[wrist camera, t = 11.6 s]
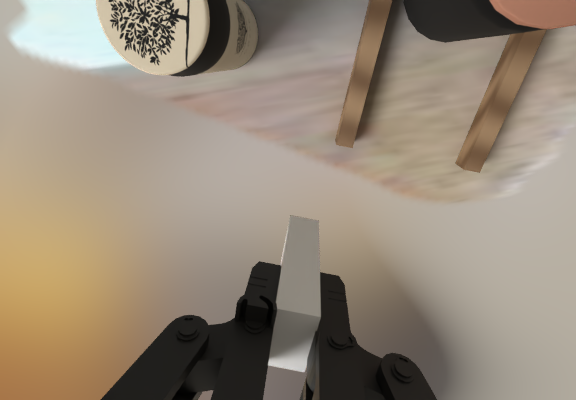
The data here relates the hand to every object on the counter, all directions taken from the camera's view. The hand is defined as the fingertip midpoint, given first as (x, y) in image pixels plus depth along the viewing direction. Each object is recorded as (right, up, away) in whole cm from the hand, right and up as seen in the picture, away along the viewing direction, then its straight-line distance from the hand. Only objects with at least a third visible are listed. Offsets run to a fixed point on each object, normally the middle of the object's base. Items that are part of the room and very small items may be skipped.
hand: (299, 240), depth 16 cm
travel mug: (-8, +22, +20) cm, 31 cm away
